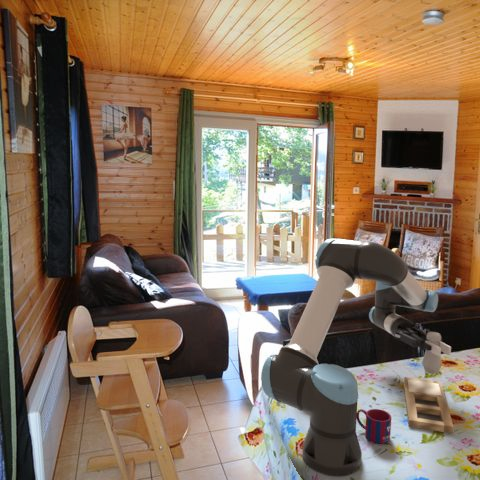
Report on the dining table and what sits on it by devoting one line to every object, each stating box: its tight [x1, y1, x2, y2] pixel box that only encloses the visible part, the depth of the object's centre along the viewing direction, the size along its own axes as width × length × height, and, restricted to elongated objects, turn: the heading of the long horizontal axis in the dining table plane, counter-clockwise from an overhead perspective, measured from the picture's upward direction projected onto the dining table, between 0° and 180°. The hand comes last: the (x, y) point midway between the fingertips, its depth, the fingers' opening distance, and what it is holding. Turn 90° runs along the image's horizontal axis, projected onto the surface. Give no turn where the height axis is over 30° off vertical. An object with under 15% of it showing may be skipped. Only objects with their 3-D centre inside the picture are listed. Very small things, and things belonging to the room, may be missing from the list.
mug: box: [356, 408, 392, 445], centre depth 126 cm, size 7×10×7 cm
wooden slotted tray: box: [403, 376, 455, 434], centre depth 143 cm, size 12×30×2 cm, turn 162°
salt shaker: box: [421, 331, 443, 375], centre depth 144 cm, size 6×6×13 cm
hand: (444, 351), depth 139 cm, fingers closed on salt shaker, 3 cm apart
